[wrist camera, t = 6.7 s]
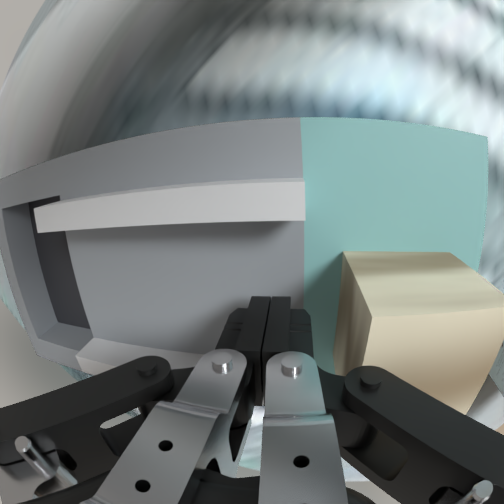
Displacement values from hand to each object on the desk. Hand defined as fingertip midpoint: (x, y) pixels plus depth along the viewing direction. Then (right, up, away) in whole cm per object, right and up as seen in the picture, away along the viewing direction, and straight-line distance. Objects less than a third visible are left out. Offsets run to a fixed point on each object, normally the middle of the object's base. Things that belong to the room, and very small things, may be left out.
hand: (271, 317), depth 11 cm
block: (+5, 0, 0) cm, 5 cm away
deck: (-4, +2, +5) cm, 6 cm away
